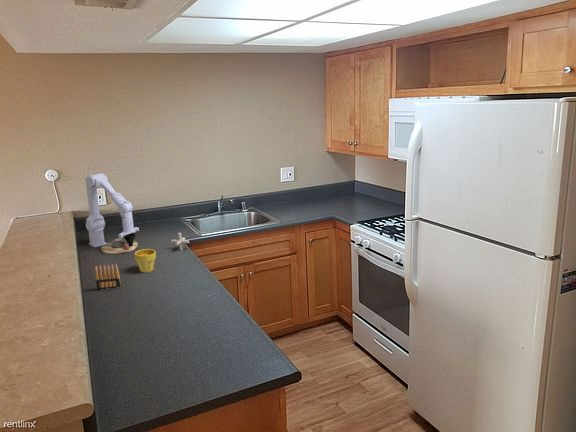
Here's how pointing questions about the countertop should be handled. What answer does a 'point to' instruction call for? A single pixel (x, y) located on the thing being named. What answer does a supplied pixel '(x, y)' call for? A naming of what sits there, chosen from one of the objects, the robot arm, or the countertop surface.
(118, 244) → the cover
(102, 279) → the ammunition clip
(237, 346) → the countertop surface
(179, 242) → the pipe connector
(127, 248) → the beige round shallow disc
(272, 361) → the countertop surface
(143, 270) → the plant pot
